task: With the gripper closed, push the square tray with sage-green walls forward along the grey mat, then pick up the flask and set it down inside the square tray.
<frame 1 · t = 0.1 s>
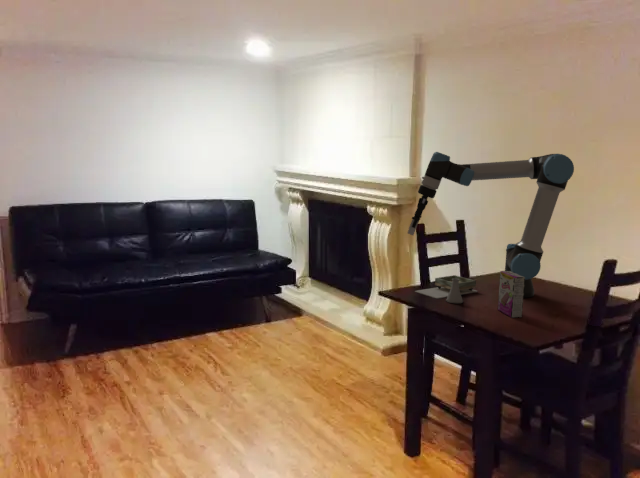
hand: (410, 232, 256), 28 cm above the table, tool tilted 20°, fingers open, 13 cm apart
flask: (454, 302, 248), on the table
candy bar box: (509, 314, 231), on the table
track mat: (446, 291, 265), on the table
square tray: (455, 284, 267), point 3 cm above the table, slide at 0.0 cm
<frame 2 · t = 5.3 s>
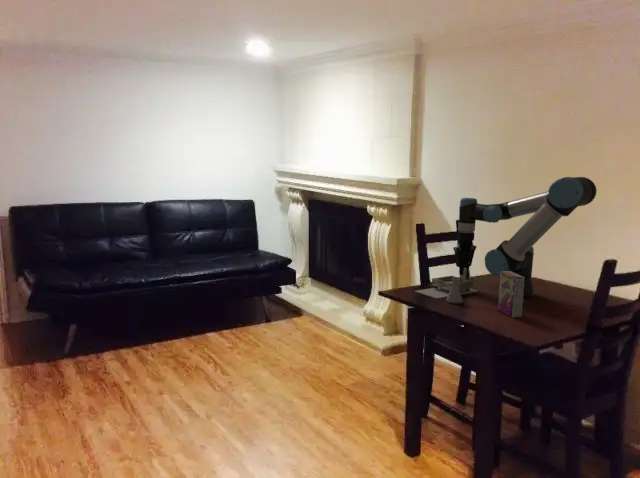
hand: (462, 281, 270), 4 cm above the table, tool pointing down, fingers closed
square tray: (452, 284, 266), point 3 cm above the table, slide at 2.0 cm, touching gripper
everything else where it was.
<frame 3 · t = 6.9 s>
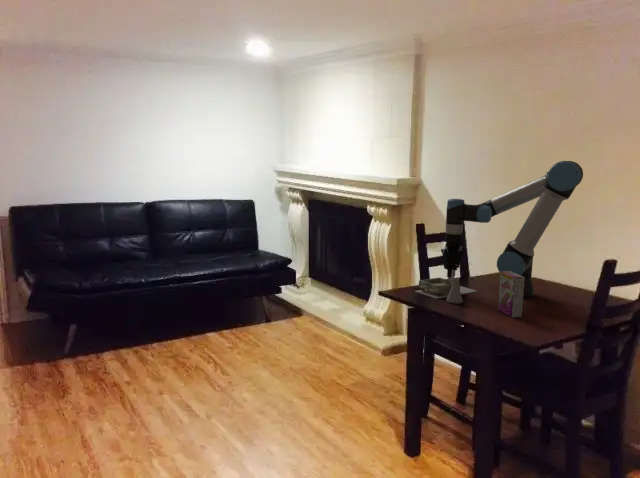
hand: (450, 283, 265), 3 cm above the table, tool pointing down, fingers closed
square tray: (439, 286, 262), point 3 cm above the table, slide at 10.2 cm, touching gripper
everything else where it was.
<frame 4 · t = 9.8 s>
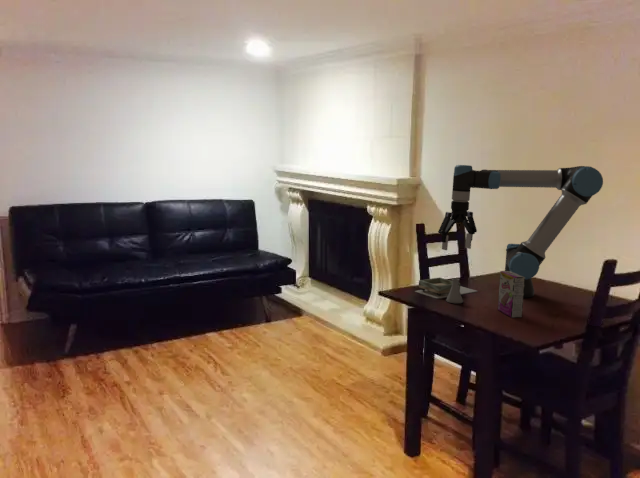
hand: (456, 249, 254), 21 cm above the table, tool pointing down, fingers open, 13 cm apart
square tray: (439, 286, 262), point 3 cm above the table, slide at 10.2 cm
everything else where it was.
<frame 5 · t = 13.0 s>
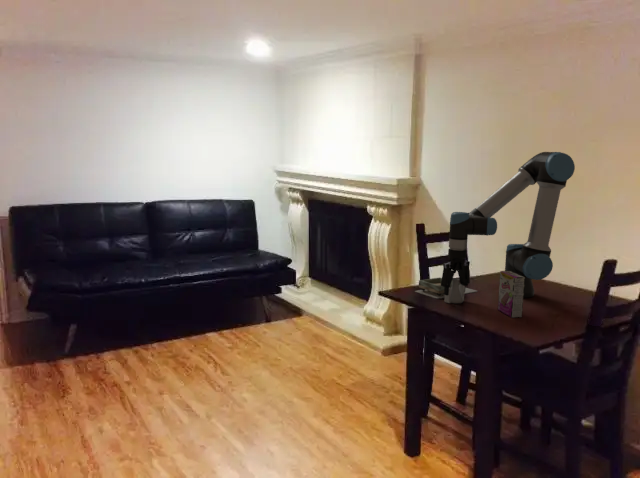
hand: (454, 301, 248), 0 cm above the table, tool pointing down, fingers closed on flask, 8 cm apart
flask: (454, 302, 248), on the table, touching gripper
everything else where it was.
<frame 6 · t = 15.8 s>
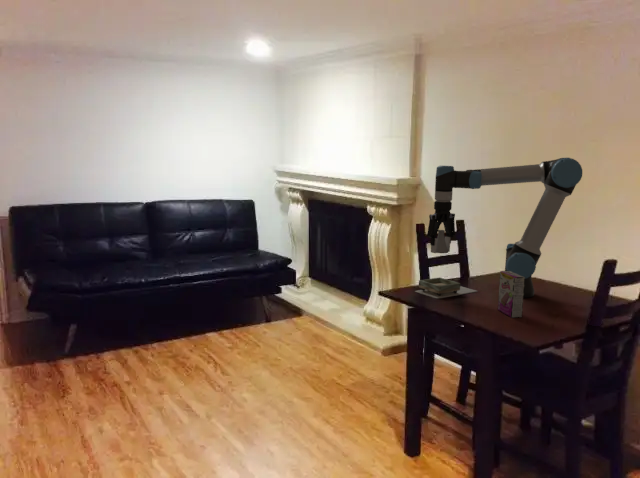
hand: (440, 251, 258), 19 cm above the table, tool pointing down, fingers closed on flask, 8 cm apart
flask: (440, 252, 258), point 19 cm above the table, touching gripper
everything else where it was.
when the fingers open (6 cm above the table, at t = 18.6 s): flask drops 3 cm, resting on square tray.
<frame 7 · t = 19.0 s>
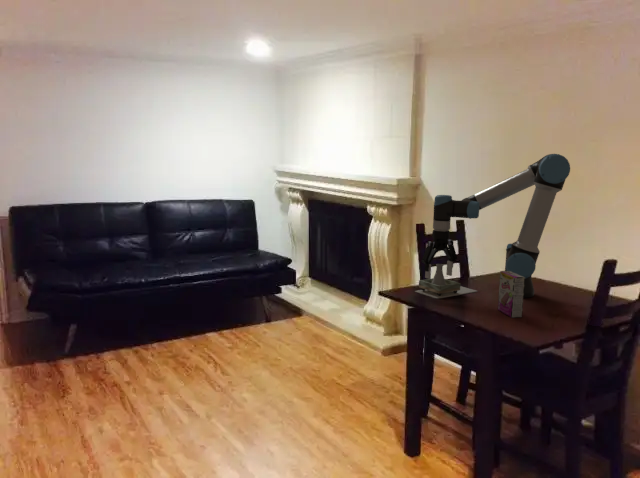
hand: (438, 276, 260), 8 cm above the table, tool pointing down, fingers open, 13 cm apart
flask: (438, 286, 261), point 3 cm above the table, touching square tray
square tray: (439, 286, 262), point 3 cm above the table, slide at 10.1 cm, touching flask
everything else where it was.
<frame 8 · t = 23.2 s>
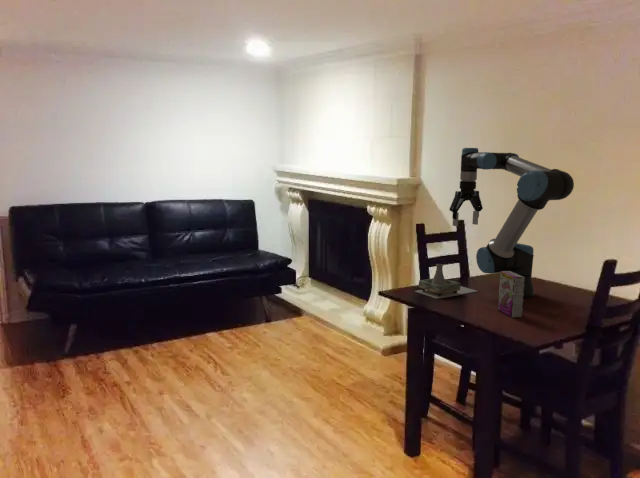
hand: (465, 225, 277), 29 cm above the table, tool pointing down, fingers open, 13 cm apart
nothing on the table moved.
at the end: square tray slide at 10.1 cm; flask 0.7 cm off-centre on the square tray, point 3.0 cm above the square tray's base; flask tilted 0° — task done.
